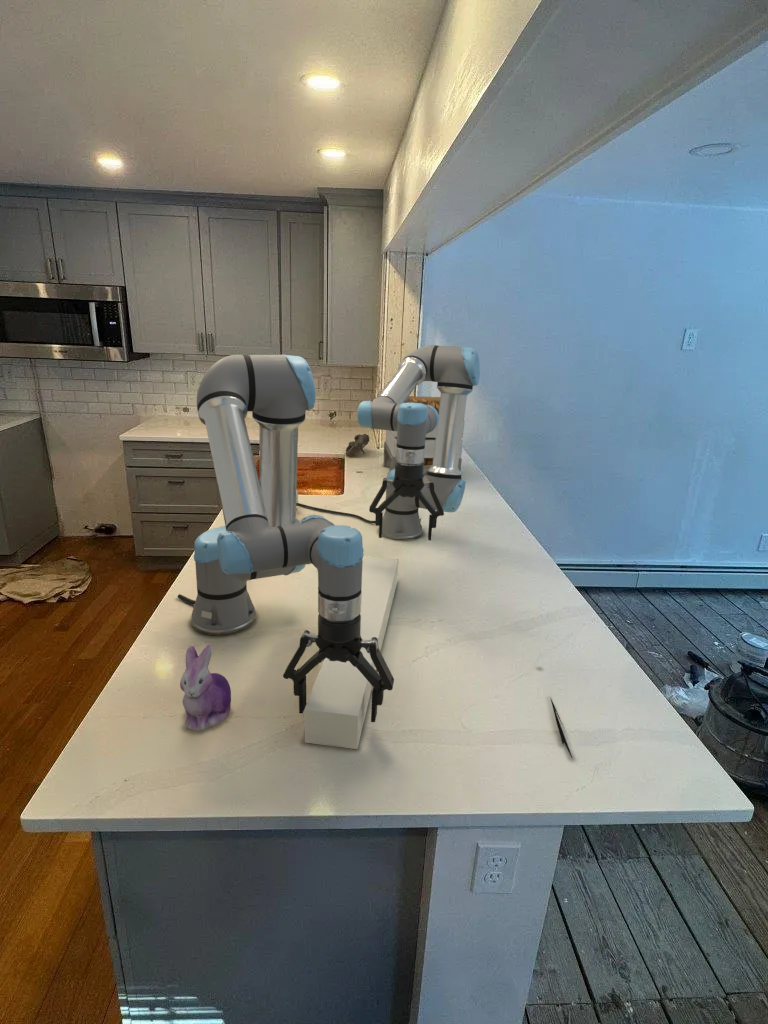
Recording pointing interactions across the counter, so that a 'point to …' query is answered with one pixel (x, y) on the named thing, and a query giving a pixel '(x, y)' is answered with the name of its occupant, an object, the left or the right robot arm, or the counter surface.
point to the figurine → (204, 691)
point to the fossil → (357, 445)
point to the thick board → (340, 684)
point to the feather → (560, 728)
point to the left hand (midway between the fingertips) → (338, 713)
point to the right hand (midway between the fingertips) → (404, 537)
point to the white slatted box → (429, 440)
